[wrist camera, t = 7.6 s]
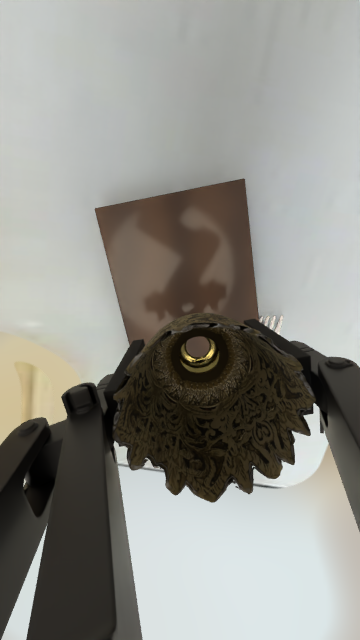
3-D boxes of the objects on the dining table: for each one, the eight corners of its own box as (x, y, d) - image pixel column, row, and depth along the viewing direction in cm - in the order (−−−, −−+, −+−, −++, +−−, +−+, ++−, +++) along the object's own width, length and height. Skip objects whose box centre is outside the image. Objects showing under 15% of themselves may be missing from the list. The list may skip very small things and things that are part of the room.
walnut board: (240, 184, 21) (244, 178, 20) (259, 369, 26) (264, 375, 25) (99, 212, 22) (94, 208, 20) (144, 389, 27) (142, 396, 25)
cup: (271, 341, 16) (360, 416, 8) (201, 410, 17) (219, 531, 9) (192, 270, 15) (206, 277, 7) (124, 350, 16) (70, 432, 8)
